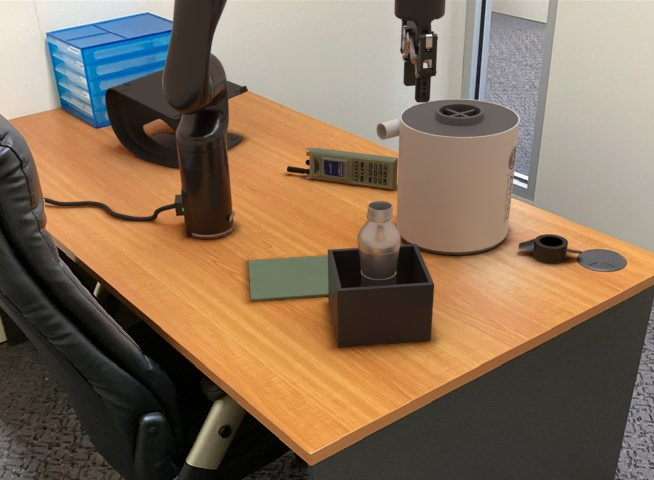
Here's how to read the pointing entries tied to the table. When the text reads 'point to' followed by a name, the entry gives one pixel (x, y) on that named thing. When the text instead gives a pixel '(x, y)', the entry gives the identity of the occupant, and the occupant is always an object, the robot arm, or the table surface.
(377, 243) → the plastic bottle
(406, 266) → the tote
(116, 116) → the laptop stand
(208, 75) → the robot arm
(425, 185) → the humidifier
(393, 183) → the handheld radio
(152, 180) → the table surface
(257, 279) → the mat
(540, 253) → the black tabbed ring
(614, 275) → the table surface
